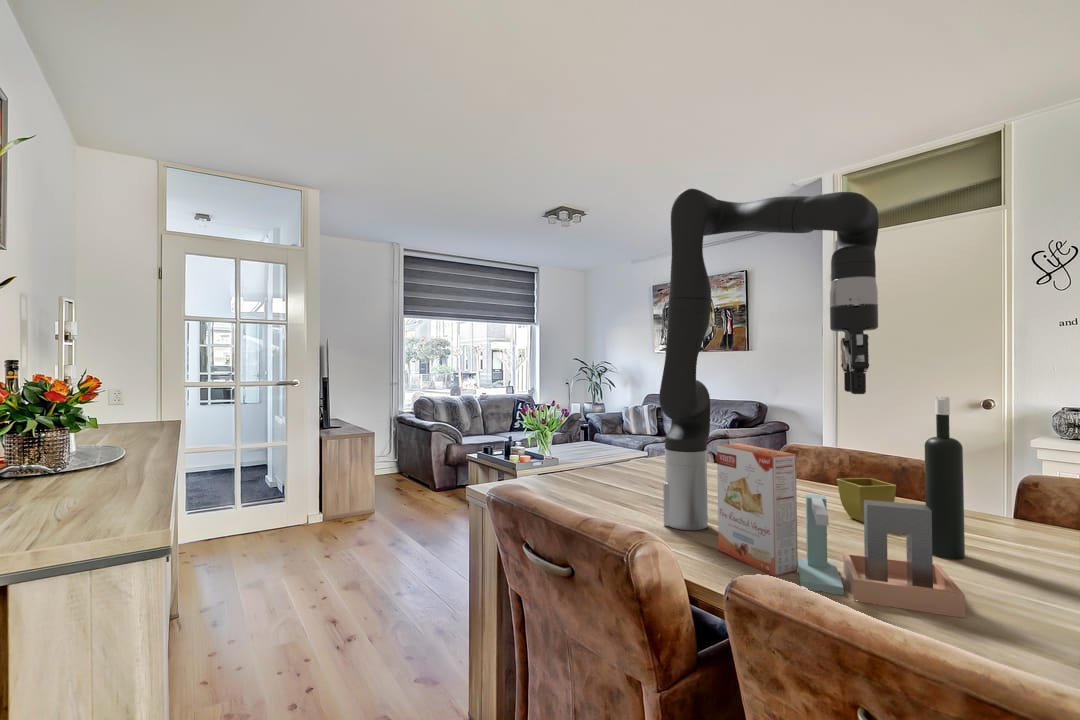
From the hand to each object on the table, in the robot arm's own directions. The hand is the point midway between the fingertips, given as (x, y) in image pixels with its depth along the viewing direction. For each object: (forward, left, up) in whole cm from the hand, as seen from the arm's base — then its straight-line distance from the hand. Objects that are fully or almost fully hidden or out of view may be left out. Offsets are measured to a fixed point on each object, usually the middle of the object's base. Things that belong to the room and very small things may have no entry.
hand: (854, 392), depth 95 cm
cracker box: (-17, -6, -31) cm, 36 cm away
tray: (+4, -12, -31) cm, 33 cm away
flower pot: (+6, +32, -31) cm, 45 cm away
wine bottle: (+16, +12, -31) cm, 37 cm away
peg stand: (-7, -12, -31) cm, 34 cm away
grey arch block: (+4, -11, -30) cm, 33 cm away
